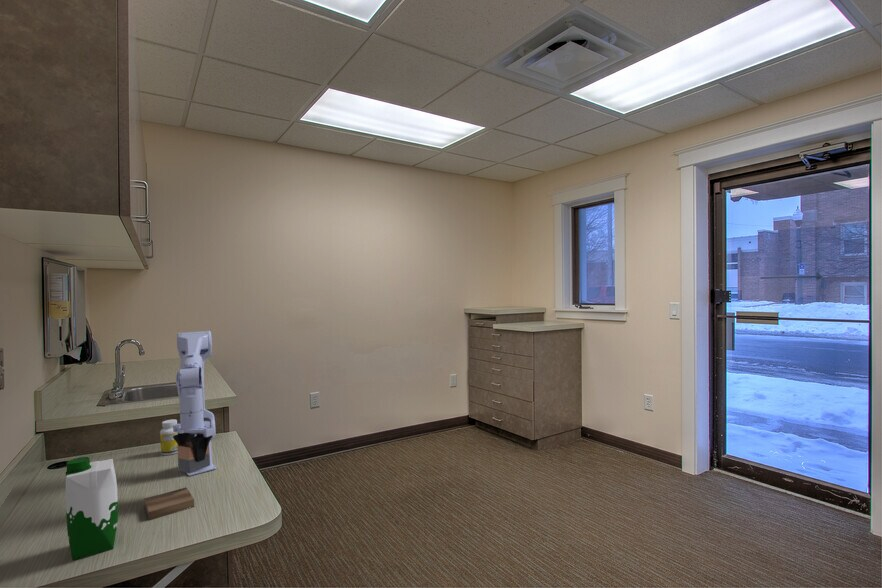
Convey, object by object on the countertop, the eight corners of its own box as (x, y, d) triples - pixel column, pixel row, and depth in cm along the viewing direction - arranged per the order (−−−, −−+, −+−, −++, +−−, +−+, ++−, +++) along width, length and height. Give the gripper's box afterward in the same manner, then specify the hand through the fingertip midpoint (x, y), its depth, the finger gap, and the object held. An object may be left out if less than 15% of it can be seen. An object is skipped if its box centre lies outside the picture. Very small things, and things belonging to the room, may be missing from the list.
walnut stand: (144, 506, 121) (143, 498, 121) (186, 494, 127) (186, 487, 127) (149, 520, 113) (149, 512, 113) (194, 506, 120) (193, 499, 120)
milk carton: (71, 545, 103) (66, 457, 103) (120, 532, 108) (116, 448, 108) (66, 564, 95) (61, 469, 95) (119, 549, 101) (114, 458, 100)
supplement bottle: (165, 450, 166) (163, 419, 166) (184, 448, 167) (182, 417, 167) (158, 456, 160) (156, 424, 160) (177, 454, 161) (175, 422, 161)
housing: (178, 470, 126) (177, 445, 126) (198, 463, 132) (197, 438, 132) (190, 473, 124) (188, 447, 124) (210, 465, 129) (208, 440, 129)
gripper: (161, 412, 128) (163, 461, 128) (195, 417, 121) (197, 468, 121) (185, 406, 134) (187, 452, 134) (218, 410, 127) (220, 458, 127)
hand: (194, 459), depth 128 cm, fingers closed on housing, 5 cm apart
